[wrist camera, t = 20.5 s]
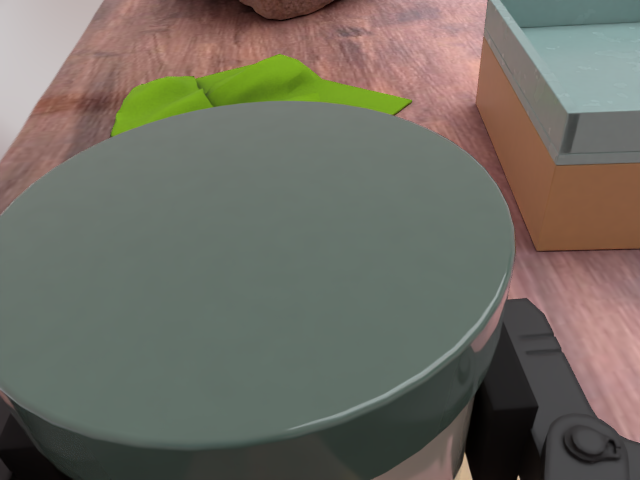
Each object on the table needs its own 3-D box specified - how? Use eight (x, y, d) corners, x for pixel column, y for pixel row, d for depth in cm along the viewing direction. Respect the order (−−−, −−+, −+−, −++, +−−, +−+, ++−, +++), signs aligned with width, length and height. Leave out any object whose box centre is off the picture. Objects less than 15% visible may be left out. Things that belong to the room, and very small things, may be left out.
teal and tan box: (790, 245, 28) (874, 100, 23) (536, 251, 29) (567, 112, 24) (645, 96, 41) (680, -15, 37) (475, 103, 42) (487, -5, 37)
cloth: (104, 93, 48) (95, 65, 46) (346, 47, 53) (345, 20, 51) (124, 226, 33) (112, 191, 31) (461, 143, 38) (465, 109, 36)
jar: (473, 739, 12) (606, 446, 5) (118, 727, 13) (-194, 447, 6) (430, 421, 19) (465, 91, 12) (192, 422, 19) (84, 106, 12)
